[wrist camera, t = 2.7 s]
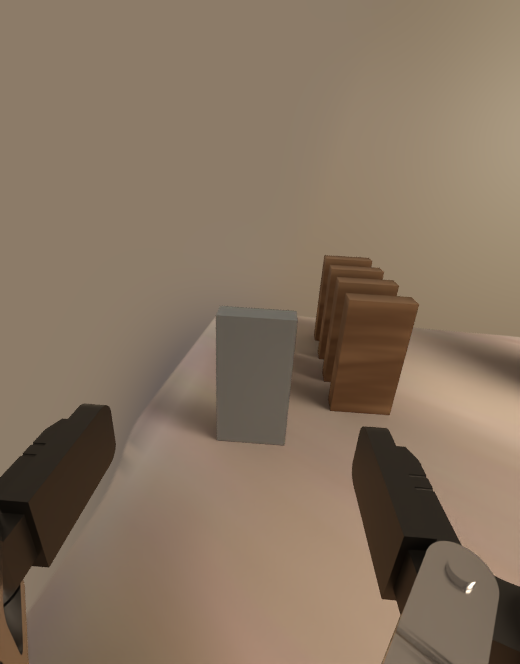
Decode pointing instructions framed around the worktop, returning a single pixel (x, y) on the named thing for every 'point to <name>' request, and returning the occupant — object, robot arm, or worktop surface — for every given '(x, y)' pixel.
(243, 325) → the domino
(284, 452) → the worktop surface
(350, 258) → the domino
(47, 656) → the worktop surface
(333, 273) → the domino
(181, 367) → the worktop surface
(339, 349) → the domino
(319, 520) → the worktop surface
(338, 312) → the domino
